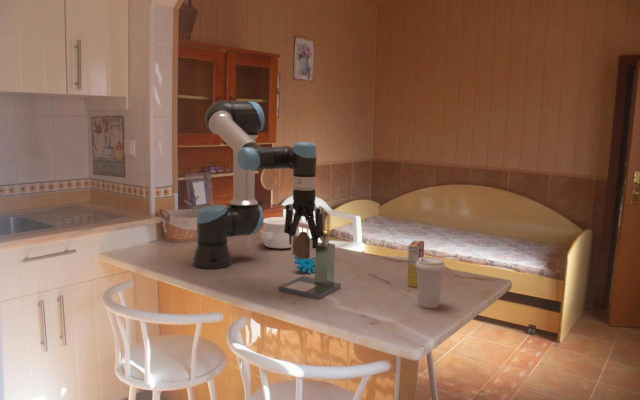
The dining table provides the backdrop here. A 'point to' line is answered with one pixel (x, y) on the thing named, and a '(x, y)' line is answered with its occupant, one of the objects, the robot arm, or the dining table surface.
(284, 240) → the pot
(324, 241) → the ram pin
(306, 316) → the dining table surface
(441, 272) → the coffee cup
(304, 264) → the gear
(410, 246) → the candy box
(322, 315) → the dining table surface
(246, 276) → the dining table surface
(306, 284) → the base
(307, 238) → the vase
